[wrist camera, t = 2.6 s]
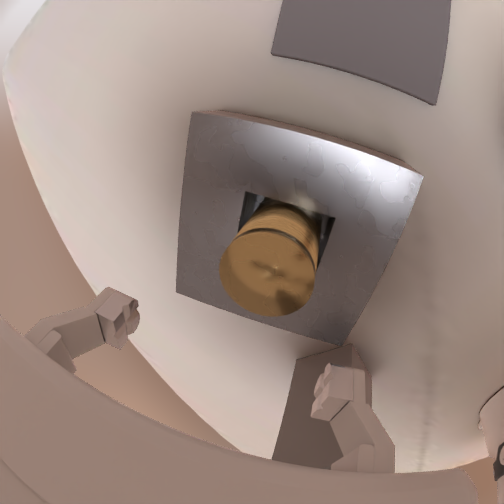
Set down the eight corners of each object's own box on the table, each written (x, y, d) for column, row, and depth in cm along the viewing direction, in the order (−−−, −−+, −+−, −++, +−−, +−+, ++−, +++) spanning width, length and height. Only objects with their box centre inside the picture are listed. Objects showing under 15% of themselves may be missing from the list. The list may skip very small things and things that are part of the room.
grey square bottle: (296, 359, 30) (255, 511, 14) (352, 343, 26) (334, 516, 11) (321, 390, 31) (293, 522, 16) (371, 377, 28) (360, 522, 13)
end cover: (330, 200, 19) (328, 253, 13) (311, 257, 22) (297, 327, 15) (264, 181, 20) (226, 221, 13) (251, 239, 23) (214, 299, 16)
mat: (448, -14, 8) (451, -17, 8) (432, 105, 14) (435, 105, 14) (300, -59, 10) (299, -63, 9) (273, 55, 16) (270, 53, 15)
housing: (403, 161, 17) (423, 176, 13) (342, 307, 24) (341, 346, 20) (222, 110, 19) (191, 111, 15) (200, 261, 26) (176, 292, 22)
